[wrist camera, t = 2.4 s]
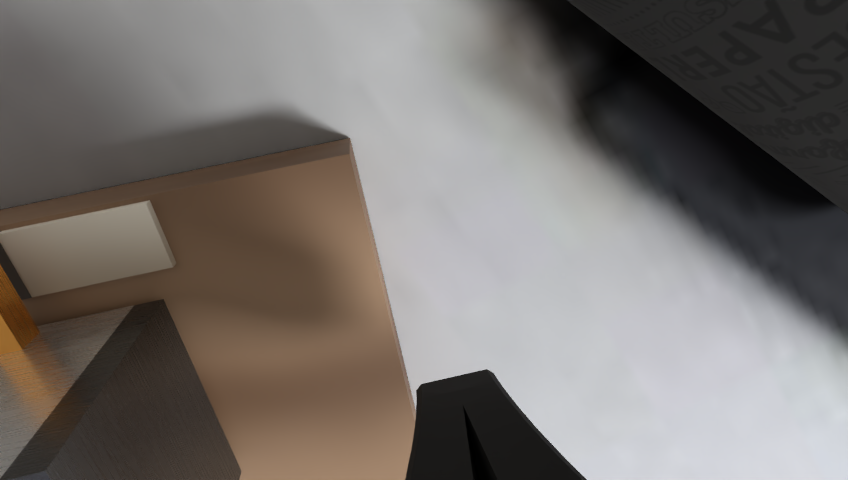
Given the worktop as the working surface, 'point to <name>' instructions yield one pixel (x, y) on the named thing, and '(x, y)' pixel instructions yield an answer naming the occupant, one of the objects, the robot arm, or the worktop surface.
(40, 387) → the gauge carriage
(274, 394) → the gauge board
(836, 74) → the drinking cup
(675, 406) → the worktop surface
